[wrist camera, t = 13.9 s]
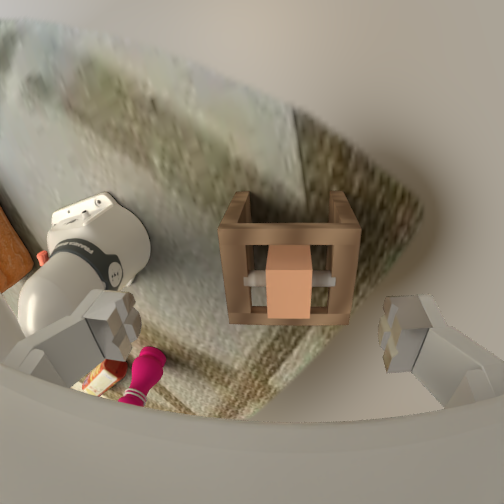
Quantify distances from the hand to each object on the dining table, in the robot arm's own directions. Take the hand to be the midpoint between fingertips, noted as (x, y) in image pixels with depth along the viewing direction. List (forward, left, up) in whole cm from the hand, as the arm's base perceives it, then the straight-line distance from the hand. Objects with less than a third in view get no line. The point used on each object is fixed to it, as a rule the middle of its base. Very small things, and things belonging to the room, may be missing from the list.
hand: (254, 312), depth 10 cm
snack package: (-48, -55, -38) cm, 82 cm away
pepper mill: (-30, -46, -37) cm, 66 cm away
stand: (+1, -15, -37) cm, 40 cm away
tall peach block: (+1, -15, -29) cm, 33 cm away
